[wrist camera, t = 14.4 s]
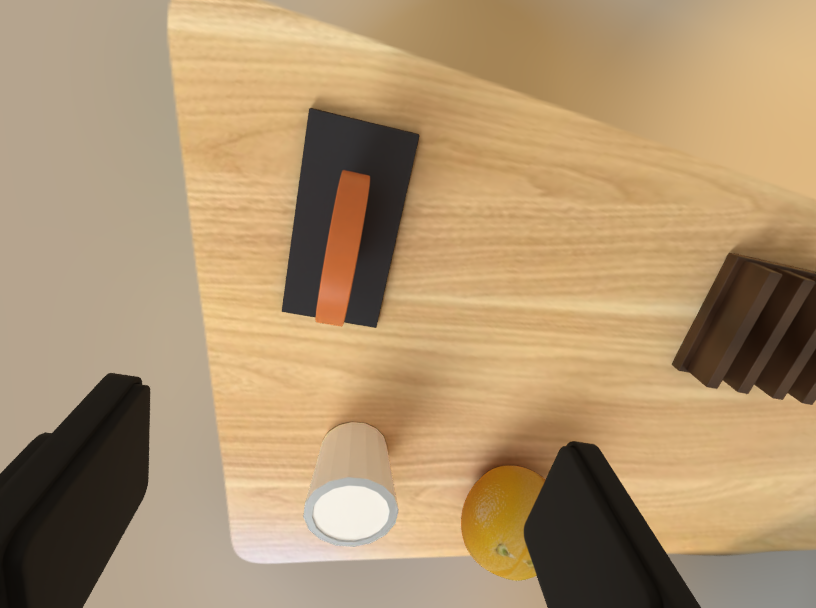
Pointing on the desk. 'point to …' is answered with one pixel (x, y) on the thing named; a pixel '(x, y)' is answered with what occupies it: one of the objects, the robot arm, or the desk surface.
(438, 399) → the desk surface
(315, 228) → the mat
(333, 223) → the disc
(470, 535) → the fruit
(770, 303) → the rack
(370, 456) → the shot glass
